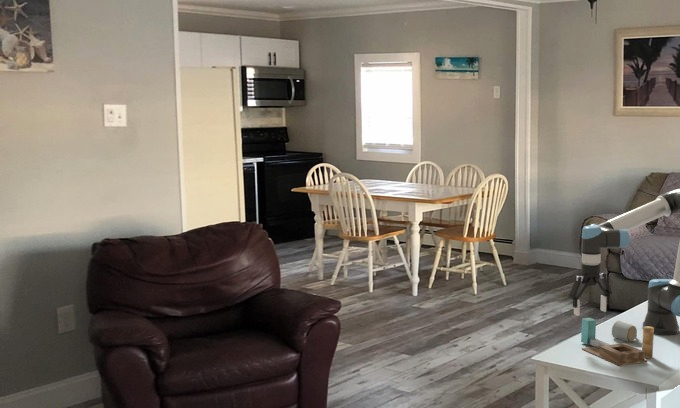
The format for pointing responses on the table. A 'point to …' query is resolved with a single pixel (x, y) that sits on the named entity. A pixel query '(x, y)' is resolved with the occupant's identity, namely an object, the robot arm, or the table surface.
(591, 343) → the teal l-shaped block
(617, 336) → the grey cylinder
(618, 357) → the dock
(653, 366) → the table surface
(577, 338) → the table surface
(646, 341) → the dowel
